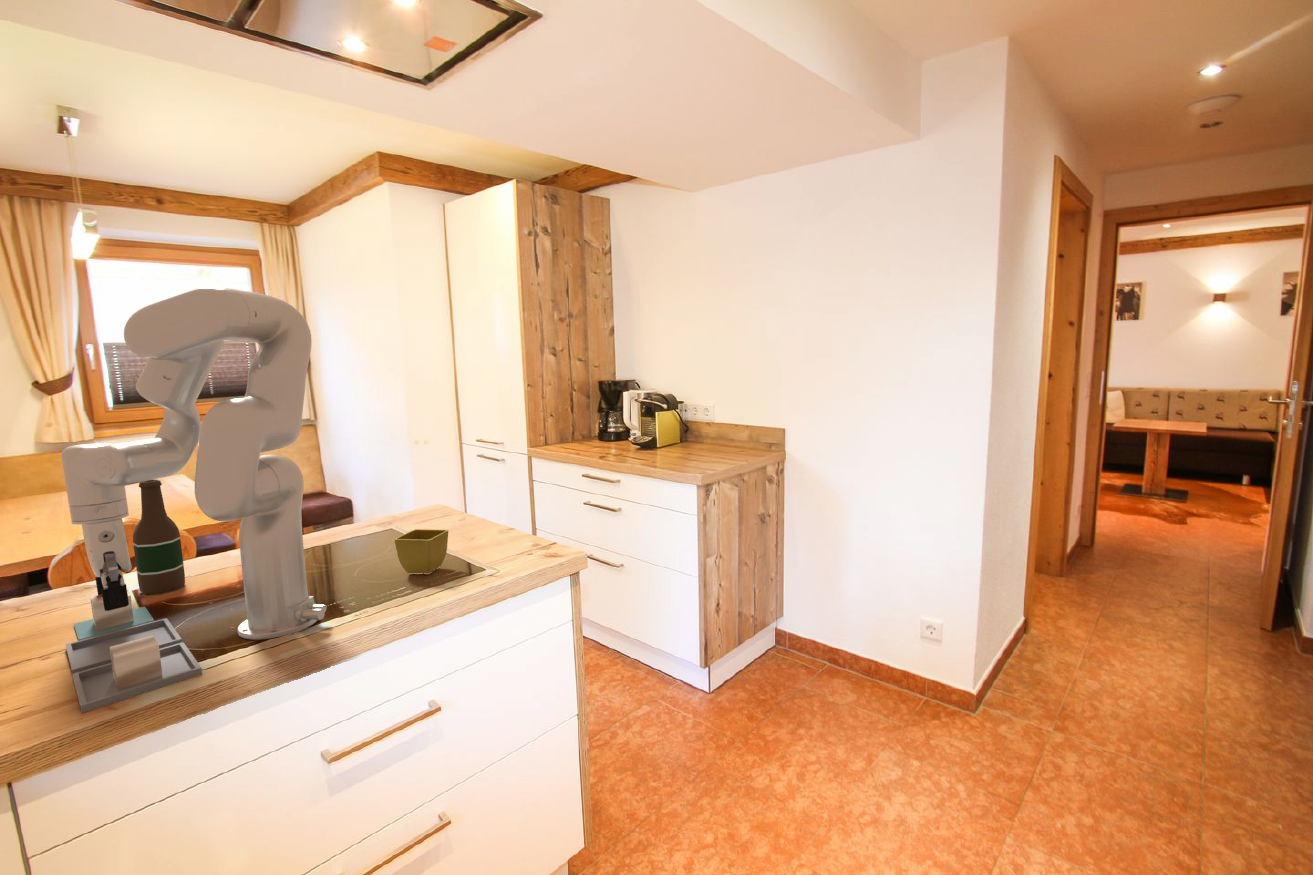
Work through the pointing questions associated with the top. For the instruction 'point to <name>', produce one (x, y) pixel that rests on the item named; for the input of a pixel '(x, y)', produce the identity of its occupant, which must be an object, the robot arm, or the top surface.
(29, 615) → the top surface
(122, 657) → the plain cube
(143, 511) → the beer bottle
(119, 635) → the dish far
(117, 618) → the letter cube
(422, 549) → the flower pot
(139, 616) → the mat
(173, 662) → the dish near
